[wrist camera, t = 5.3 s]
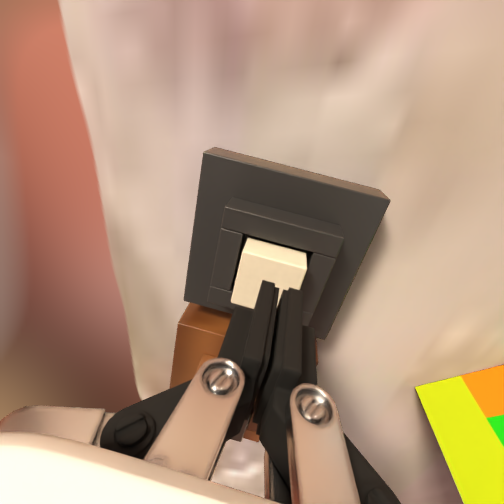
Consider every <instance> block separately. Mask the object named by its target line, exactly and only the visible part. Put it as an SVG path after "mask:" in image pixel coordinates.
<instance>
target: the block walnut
mask: <svg viewBox="0 0 504 504" xmlns="http://www.w3.org/2000/svg"><path fill="white" fill-rule="evenodd" d="M231 317H232V314H230V313H227V312H223V311H219V310H216V309H212V308H208V307H205V306H201V305H198V304H194V303H189V305H188V306H187V308H186V310H185V312H184V313H183V315H182V317H181V319H180V321H179V322H178V327H177V335H176V342H175V350H174V358H173V366H172V373H171V381H170V389H171V388H173V387H175V386H178V385H180V384H182V383H185V382H187V381H189V380H191V379H193V378H194V376H195V375H196V373H197V371H198V370H199V368H200V367H201V366H202V365H203V363H205V362H206V361H208V360H210V359H213V358H217V357H218V354H219V352H220V349H221V346H222V343H223V340H224V337H225V334H226V332H227V329H228V326H229V323H230V320H231ZM315 345H316V366H317V364H318V354H317V341H316V337H315ZM255 401H256V399H255ZM254 407H255V402H254V405H253V408H252V410H251V413H250V419H249V422H248V425H247V427H246V430H245V433H244V435H243V438H245V439H249V440H252V441H256V442H259V435H256V429H257V424H256V423H253V422H252V419H253V413H254Z"/></svg>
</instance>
